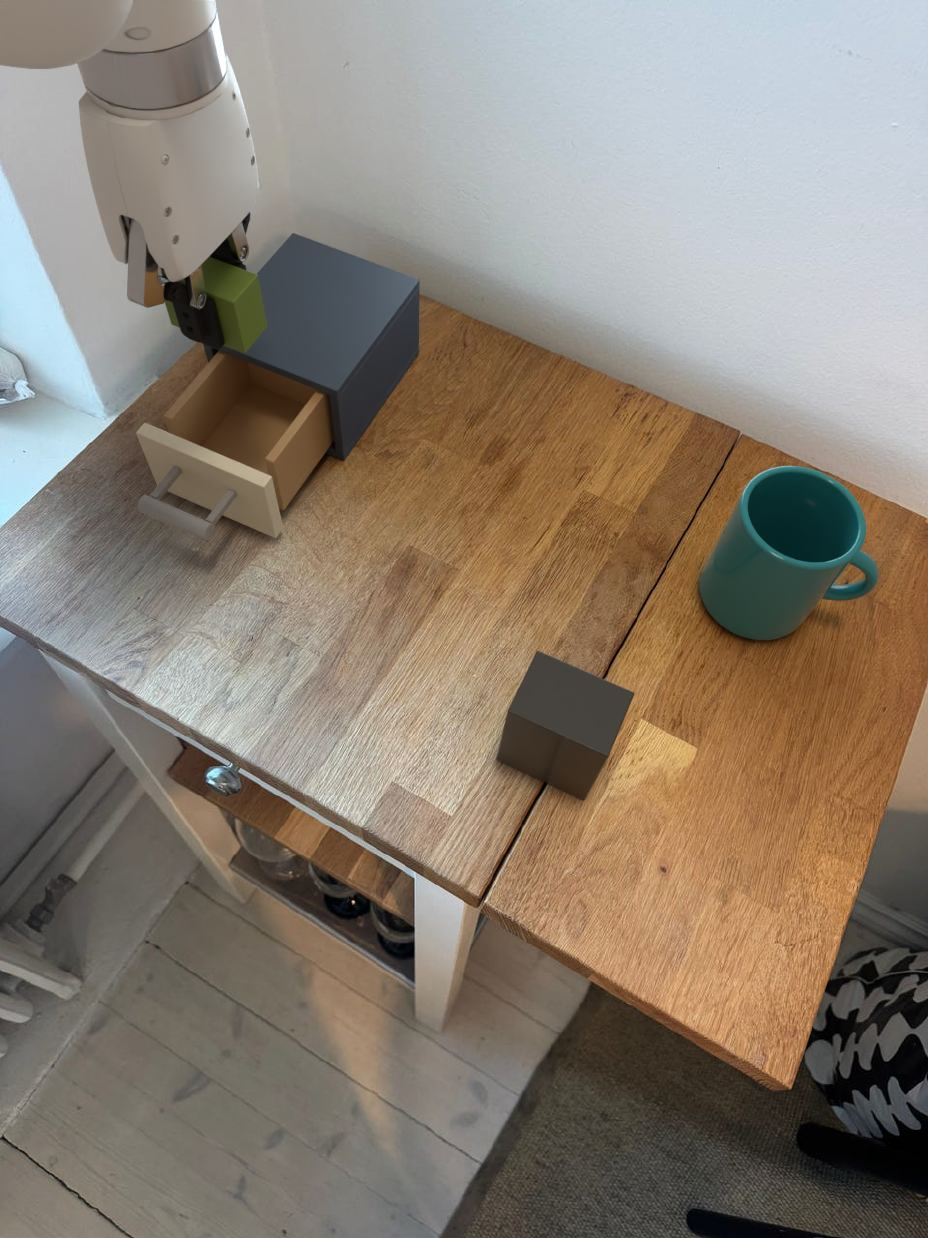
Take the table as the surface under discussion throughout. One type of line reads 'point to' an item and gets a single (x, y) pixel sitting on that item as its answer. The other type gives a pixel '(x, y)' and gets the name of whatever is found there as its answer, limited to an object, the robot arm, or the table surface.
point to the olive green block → (232, 303)
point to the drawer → (235, 447)
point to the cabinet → (336, 330)
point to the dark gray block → (562, 724)
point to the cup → (785, 553)
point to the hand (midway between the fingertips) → (218, 321)
